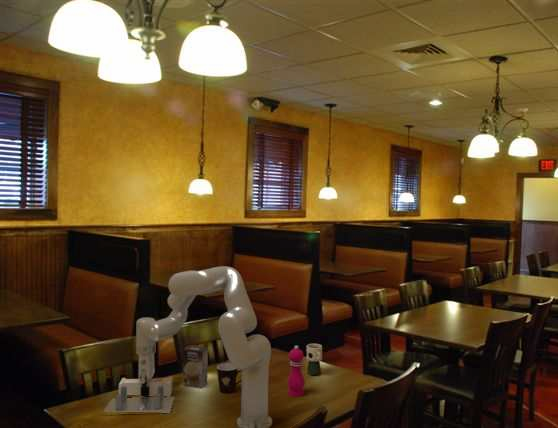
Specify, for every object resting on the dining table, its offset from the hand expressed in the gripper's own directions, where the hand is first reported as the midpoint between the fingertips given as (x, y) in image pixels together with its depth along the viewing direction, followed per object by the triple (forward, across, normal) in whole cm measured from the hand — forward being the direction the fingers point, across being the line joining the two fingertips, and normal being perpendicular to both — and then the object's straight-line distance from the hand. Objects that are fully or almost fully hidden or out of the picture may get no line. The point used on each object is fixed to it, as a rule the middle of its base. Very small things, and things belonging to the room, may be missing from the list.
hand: (146, 393), depth 201 cm
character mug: (+1, +20, -72) cm, 75 cm away
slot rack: (+1, -12, 0) cm, 12 cm away
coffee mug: (+1, +2, -34) cm, 34 cm away
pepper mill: (+1, -2, -61) cm, 61 cm away
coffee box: (+1, +10, -19) cm, 21 cm away
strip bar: (+1, 0, 0) cm, 1 cm away
